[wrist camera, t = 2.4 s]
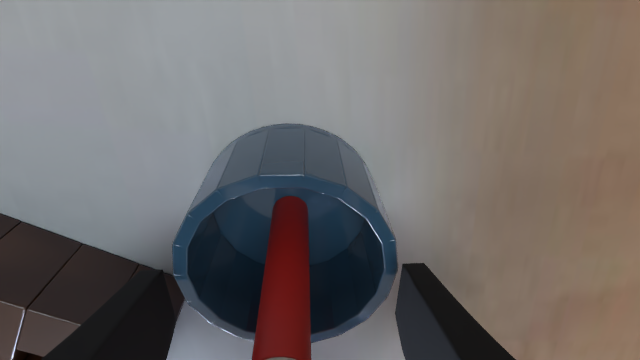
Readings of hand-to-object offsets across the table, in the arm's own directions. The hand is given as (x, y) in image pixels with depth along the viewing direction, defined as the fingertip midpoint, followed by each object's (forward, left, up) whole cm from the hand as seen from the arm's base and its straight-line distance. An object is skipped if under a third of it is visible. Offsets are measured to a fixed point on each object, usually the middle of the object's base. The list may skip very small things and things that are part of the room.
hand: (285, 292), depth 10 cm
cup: (0, 0, -5) cm, 5 cm away
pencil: (0, 0, -4) cm, 4 cm away
